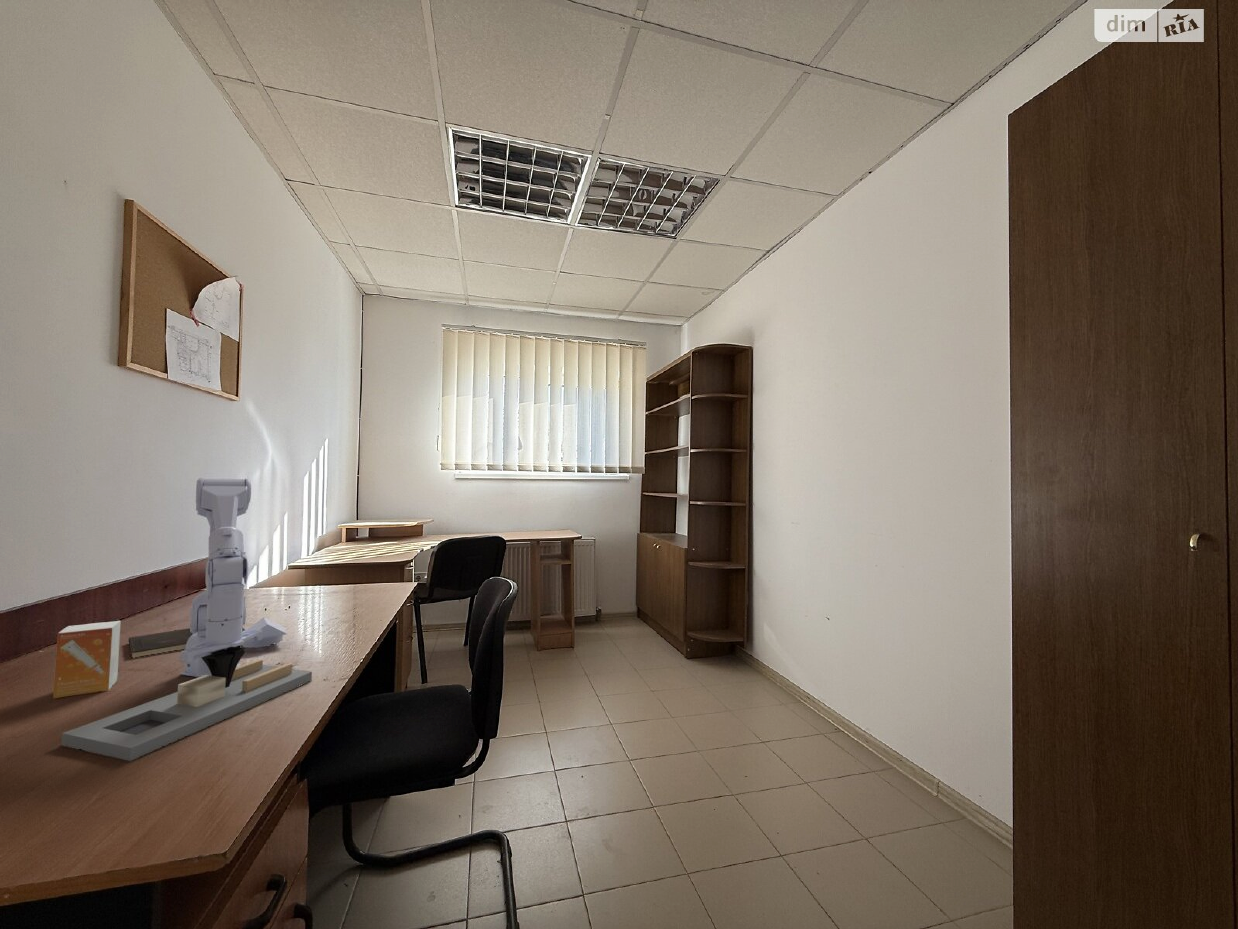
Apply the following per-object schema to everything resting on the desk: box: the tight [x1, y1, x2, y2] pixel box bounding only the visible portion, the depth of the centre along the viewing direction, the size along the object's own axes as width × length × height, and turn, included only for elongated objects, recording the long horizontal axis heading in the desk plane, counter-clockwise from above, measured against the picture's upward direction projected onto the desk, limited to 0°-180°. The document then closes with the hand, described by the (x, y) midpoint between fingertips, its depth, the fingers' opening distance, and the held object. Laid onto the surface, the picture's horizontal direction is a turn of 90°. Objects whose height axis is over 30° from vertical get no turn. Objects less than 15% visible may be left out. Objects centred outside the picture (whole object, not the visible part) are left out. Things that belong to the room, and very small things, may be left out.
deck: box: [61, 659, 313, 762], centre depth 96 cm, size 16×33×4 cm, turn 165°
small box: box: [52, 620, 122, 699], centre depth 104 cm, size 8×6×13 cm
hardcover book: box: [128, 627, 246, 658], centre depth 135 cm, size 16×23×2 cm
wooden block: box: [177, 675, 226, 707], centre depth 95 cm, size 5×5×4 cm
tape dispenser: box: [241, 616, 288, 648], centre depth 134 cm, size 9×7×13 cm
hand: (222, 687), depth 99 cm, fingers closed
